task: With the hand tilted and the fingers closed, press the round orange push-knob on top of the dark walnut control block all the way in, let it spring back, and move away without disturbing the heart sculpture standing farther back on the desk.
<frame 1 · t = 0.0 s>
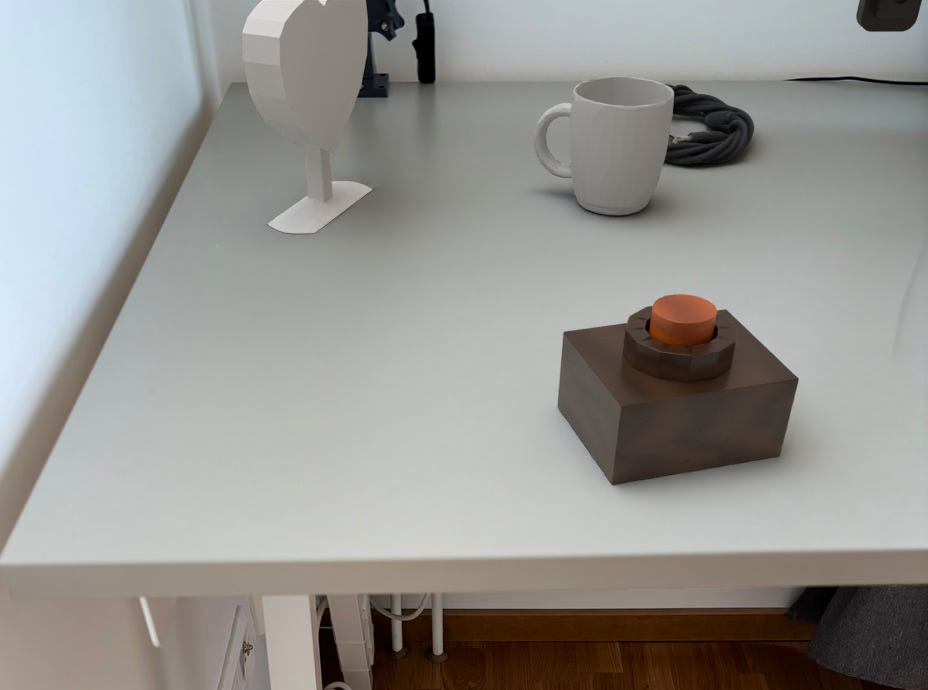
hand: (851, 3, 46), 28 cm above the table, tool pointing down, fingers open, 8 cm apart
control block: (665, 430, 74), on the table
cable: (686, 141, 117), on the table
mug: (593, 202, 104), on the table
button: (682, 321, 69), point 8 cm above the table, slide at 0.1 cm
heart sculpture: (321, 208, 103), on the table
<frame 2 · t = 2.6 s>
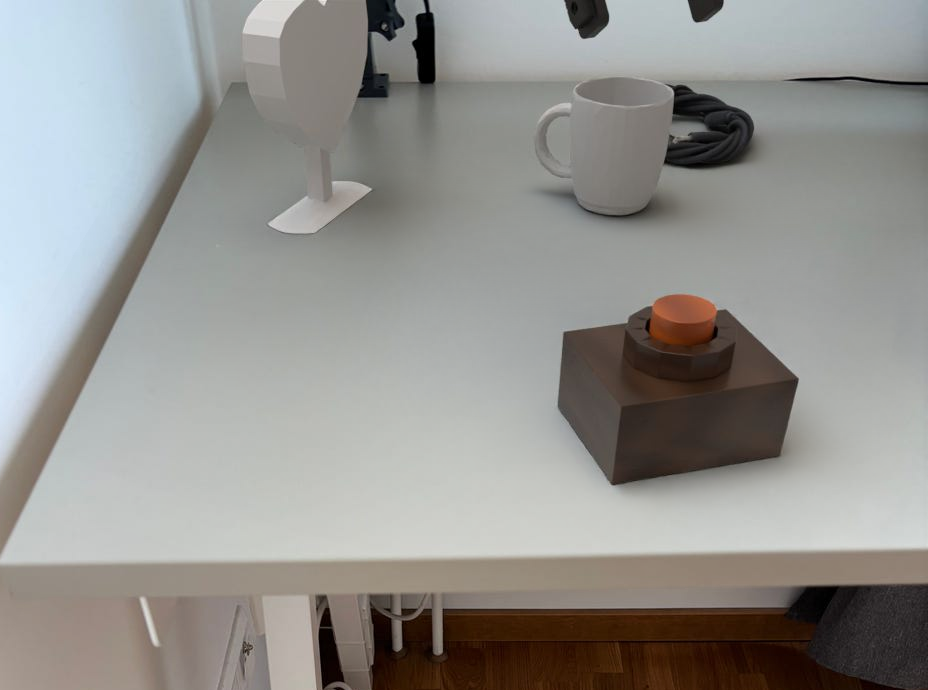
hand: (654, 23, 65), 23 cm above the table, tool tilted 40°, fingers open, 8 cm apart
nothing on the table moved.
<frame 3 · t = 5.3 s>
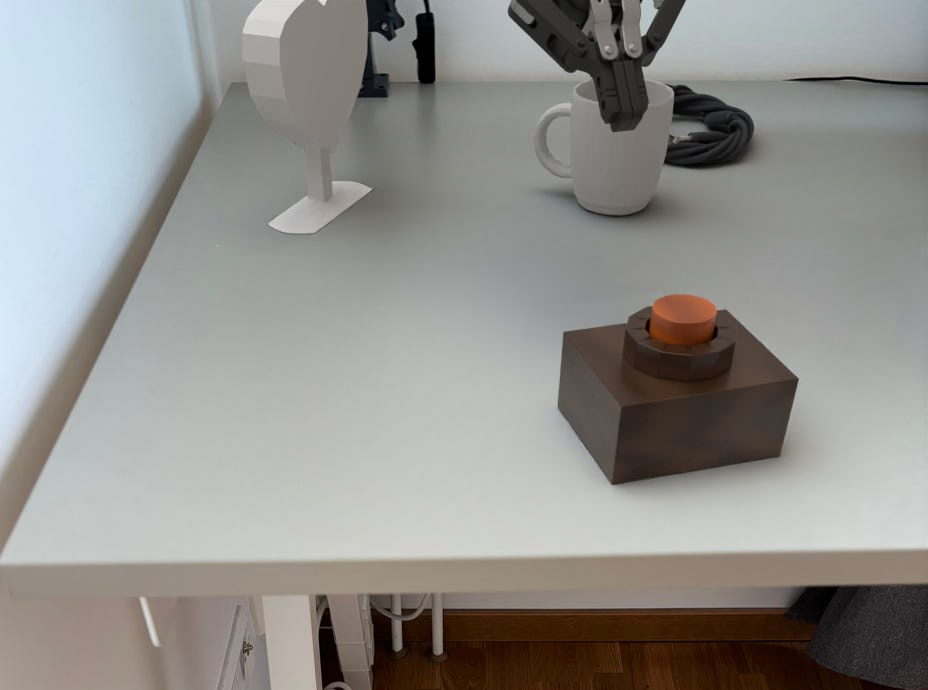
hand: (628, 125, 71), 16 cm above the table, tool tilted 45°, fingers closed
nothing on the table moved.
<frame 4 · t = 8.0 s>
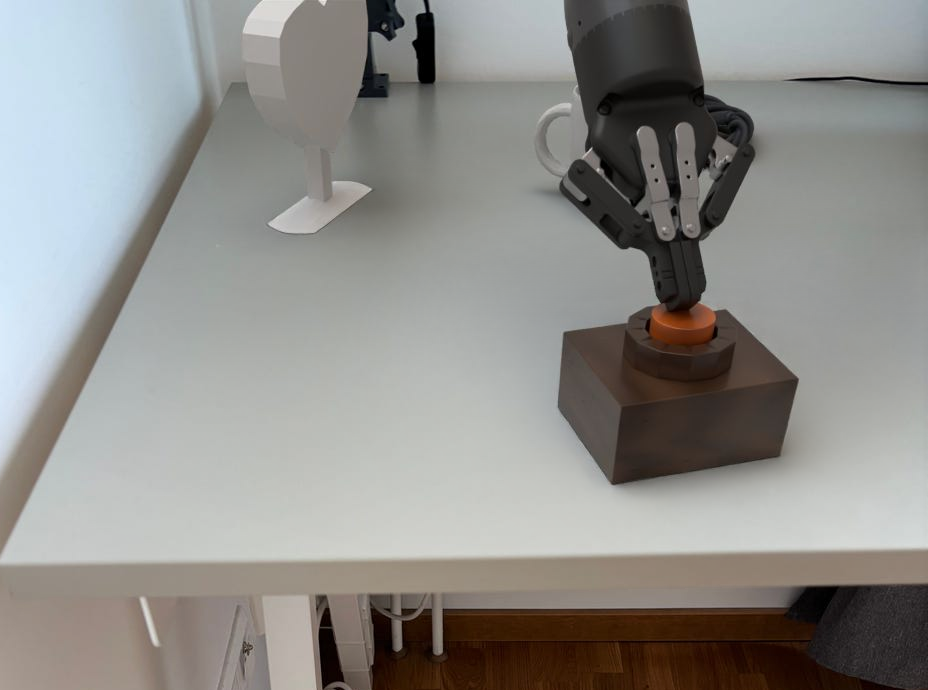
hand: (685, 306, 68), 9 cm above the table, tool tilted 45°, fingers closed
button: (681, 327, 69), point 8 cm above the table, slide at -0.3 cm, touching gripper
everything else where it was.
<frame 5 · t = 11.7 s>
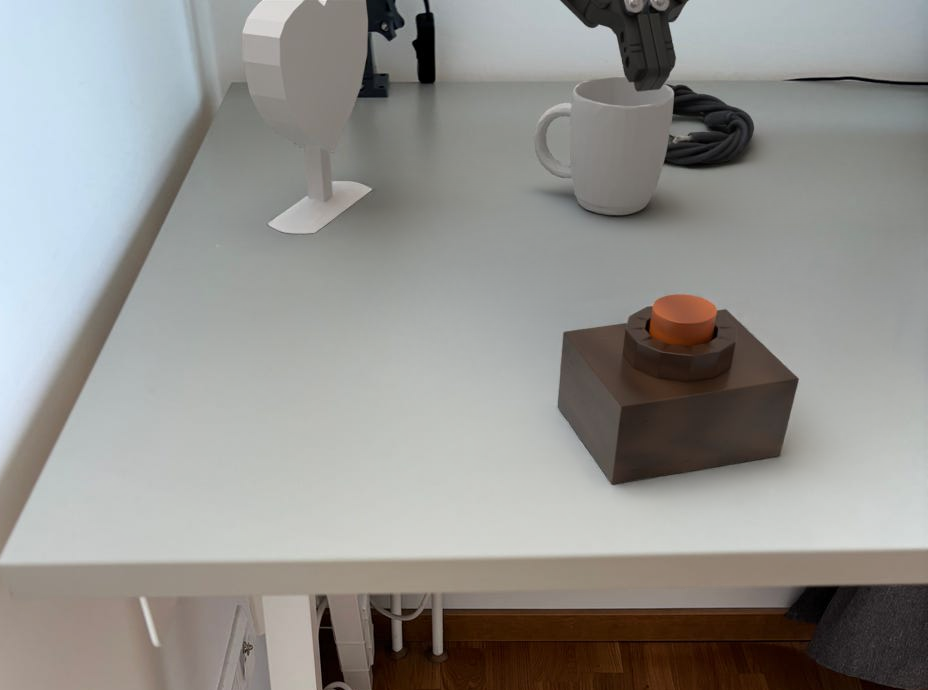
hand: (654, 83, 66), 20 cm above the table, tool tilted 45°, fingers closed
button: (682, 321, 69), point 8 cm above the table, slide at 0.1 cm
everything else where it was.
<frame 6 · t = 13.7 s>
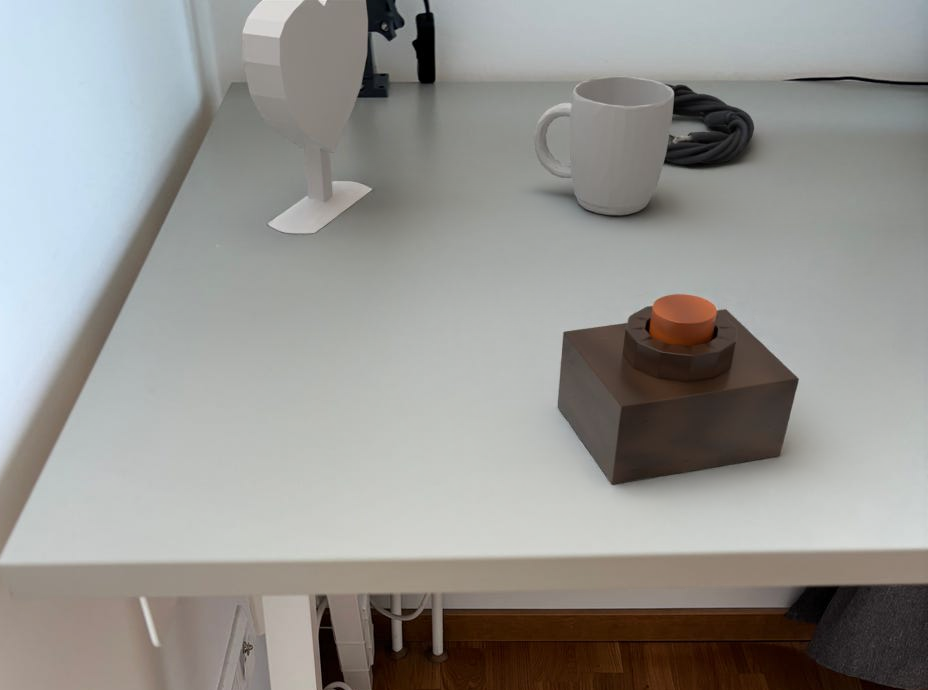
nothing on the table moved.
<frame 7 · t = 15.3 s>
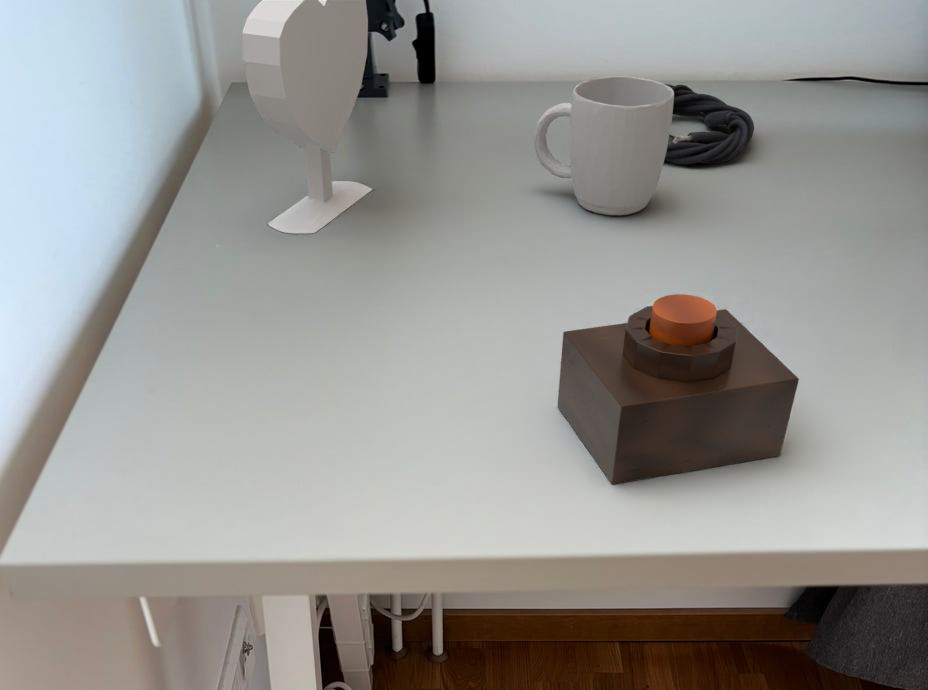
nothing on the table moved.
at the end: button pushed in 1.3 cm at the most during the clip, back to where it started at the end; button slide at 0.1 cm; heart sculpture moved 0.2 cm from its start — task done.
